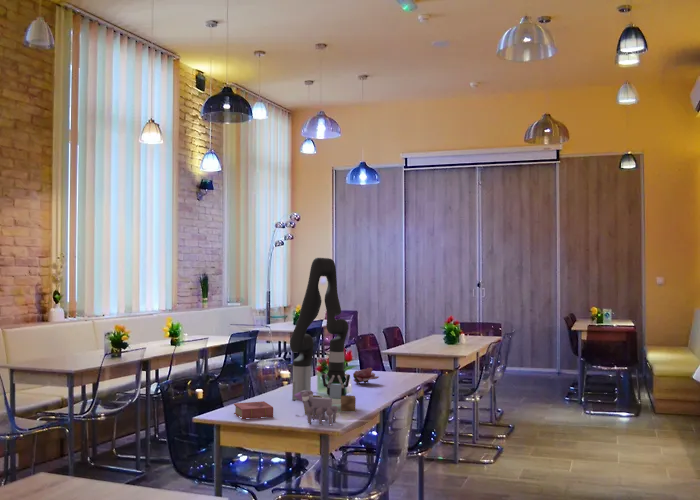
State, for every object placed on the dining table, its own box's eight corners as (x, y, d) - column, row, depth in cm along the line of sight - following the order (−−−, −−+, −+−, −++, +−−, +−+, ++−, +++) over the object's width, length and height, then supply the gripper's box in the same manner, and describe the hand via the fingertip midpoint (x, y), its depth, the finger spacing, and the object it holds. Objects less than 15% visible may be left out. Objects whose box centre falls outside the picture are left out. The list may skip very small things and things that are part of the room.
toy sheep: (287, 422, 310) (288, 391, 311) (297, 419, 320) (298, 388, 321) (331, 426, 304) (332, 394, 305) (339, 422, 314) (340, 391, 315)
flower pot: (314, 419, 318) (314, 399, 318) (297, 416, 323) (297, 397, 323) (326, 415, 326) (326, 396, 326) (309, 413, 331) (309, 394, 331)
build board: (330, 414, 329) (330, 411, 329) (328, 406, 347) (329, 404, 347) (356, 413, 330) (356, 411, 330) (353, 406, 348) (353, 404, 348)
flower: (384, 379, 416) (379, 362, 417) (371, 385, 404) (366, 368, 405) (363, 383, 424) (358, 367, 425) (350, 390, 412) (345, 374, 413)
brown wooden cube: (341, 411, 331) (341, 398, 331) (340, 408, 338) (340, 395, 338) (355, 411, 331) (355, 398, 332) (354, 408, 338) (354, 395, 338)
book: (242, 420, 315) (242, 409, 315) (233, 414, 329) (234, 403, 329) (273, 418, 320) (273, 407, 320) (263, 412, 334) (264, 401, 334)
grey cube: (329, 398, 342) (330, 385, 342) (329, 395, 347) (329, 383, 347) (341, 398, 342) (341, 385, 342) (340, 396, 347) (341, 383, 347)
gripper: (321, 361, 340) (320, 396, 340) (351, 362, 341) (350, 397, 341) (321, 359, 348) (320, 393, 348) (350, 359, 349) (349, 394, 349)
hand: (335, 395), depth 344 cm, fingers closed on grey cube, 5 cm apart
